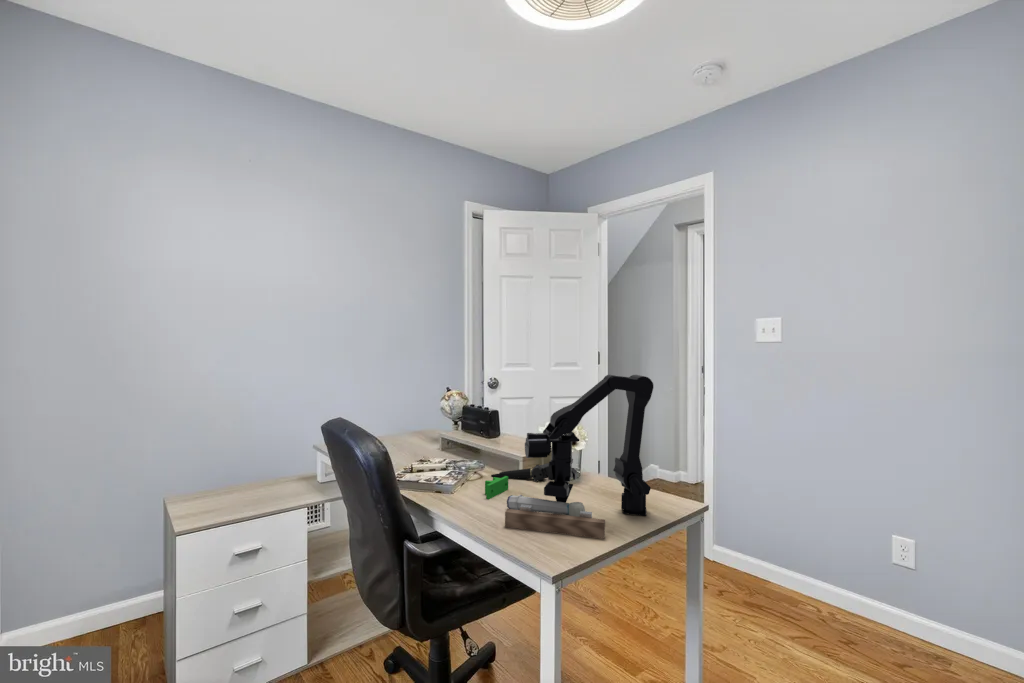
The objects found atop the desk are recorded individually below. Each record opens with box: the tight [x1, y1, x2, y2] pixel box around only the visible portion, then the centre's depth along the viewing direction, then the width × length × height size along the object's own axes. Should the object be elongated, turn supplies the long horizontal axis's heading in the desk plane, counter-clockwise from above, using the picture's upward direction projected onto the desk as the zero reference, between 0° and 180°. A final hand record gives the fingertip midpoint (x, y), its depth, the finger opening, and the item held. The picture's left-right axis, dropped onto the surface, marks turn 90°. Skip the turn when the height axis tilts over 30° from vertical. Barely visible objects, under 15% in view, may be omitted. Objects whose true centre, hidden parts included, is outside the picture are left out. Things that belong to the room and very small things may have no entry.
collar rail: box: [504, 505, 606, 540], centre depth 127 cm, size 26×4×5 cm, turn 75°
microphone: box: [490, 464, 544, 482], centre depth 171 cm, size 6×6×20 cm
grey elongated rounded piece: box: [506, 494, 586, 517], centre depth 135 cm, size 5×7×25 cm
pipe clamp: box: [484, 476, 509, 500], centre depth 155 cm, size 11×4×5 cm, turn 149°
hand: (560, 510), depth 137 cm, fingers closed
